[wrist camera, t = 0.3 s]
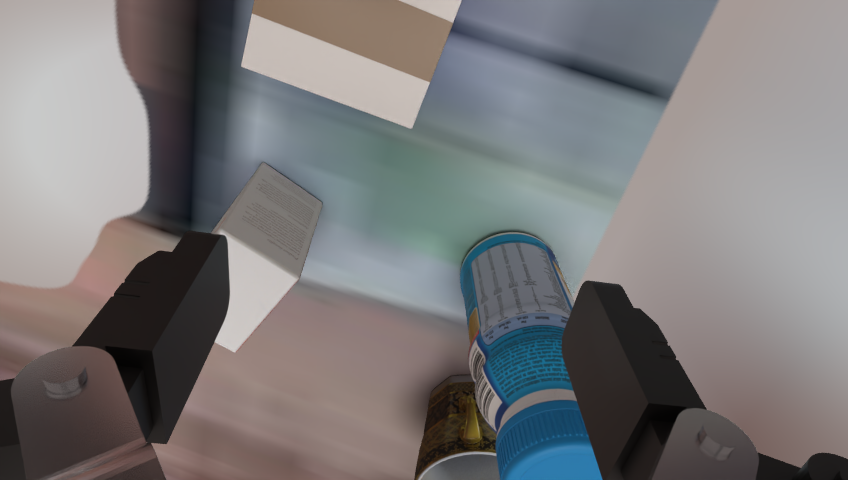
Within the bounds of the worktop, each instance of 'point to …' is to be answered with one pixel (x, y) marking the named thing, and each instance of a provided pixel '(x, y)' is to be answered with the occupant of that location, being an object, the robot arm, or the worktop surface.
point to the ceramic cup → (456, 436)
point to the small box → (264, 249)
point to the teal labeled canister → (524, 359)
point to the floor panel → (353, 49)
